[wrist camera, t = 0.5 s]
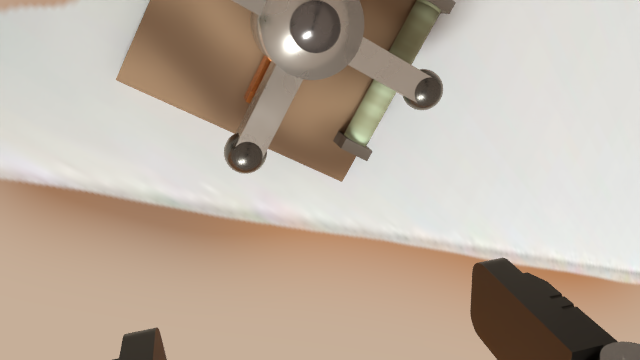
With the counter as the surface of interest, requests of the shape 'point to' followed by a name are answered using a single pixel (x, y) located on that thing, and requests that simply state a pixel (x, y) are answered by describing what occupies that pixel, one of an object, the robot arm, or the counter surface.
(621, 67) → the counter surface
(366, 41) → the capstan
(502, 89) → the counter surface
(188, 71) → the stand
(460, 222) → the counter surface
